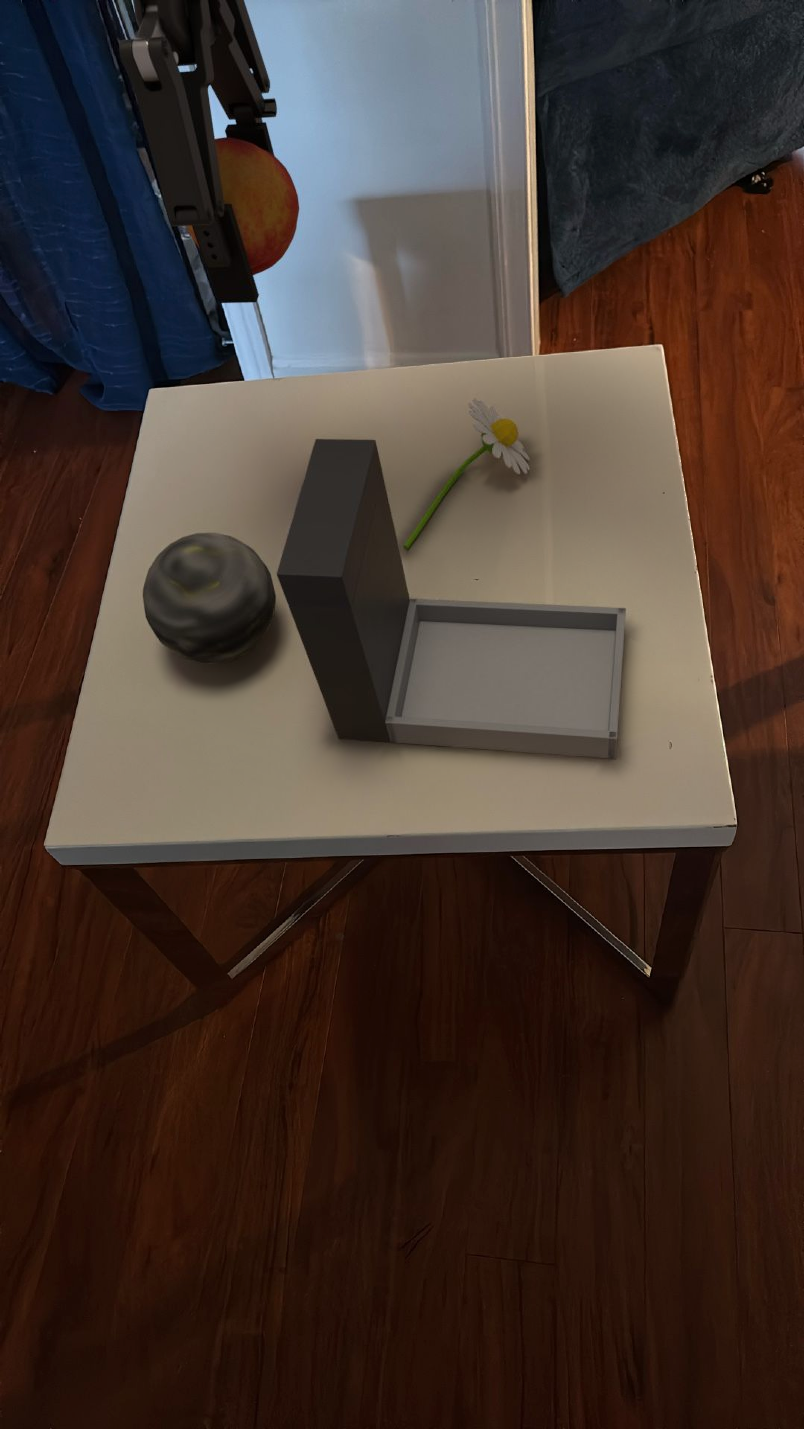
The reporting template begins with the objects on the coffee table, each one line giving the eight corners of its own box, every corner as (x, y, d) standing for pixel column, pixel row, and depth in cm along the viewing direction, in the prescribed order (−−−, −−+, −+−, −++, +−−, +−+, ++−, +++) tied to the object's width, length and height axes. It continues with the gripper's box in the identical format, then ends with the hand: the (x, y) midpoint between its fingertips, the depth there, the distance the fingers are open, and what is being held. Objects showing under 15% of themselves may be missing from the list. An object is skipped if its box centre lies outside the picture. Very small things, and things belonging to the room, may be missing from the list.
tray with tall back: (624, 630, 79) (637, 442, 63) (615, 759, 73) (627, 588, 57) (365, 617, 83) (315, 438, 67) (338, 738, 77) (276, 574, 61)
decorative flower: (413, 492, 79) (500, 367, 85) (371, 515, 84) (456, 396, 91) (481, 561, 82) (561, 435, 88) (436, 579, 87) (514, 459, 93)
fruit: (332, 232, 73) (306, 116, 66) (278, 305, 69) (244, 190, 62) (237, 219, 75) (202, 107, 69) (180, 288, 72) (138, 177, 65)
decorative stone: (267, 696, 80) (232, 617, 72) (150, 681, 82) (102, 603, 74) (303, 594, 85) (274, 509, 76) (191, 583, 87) (151, 499, 79)
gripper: (131, -213, 59) (241, 171, 78) (-5, -37, 49) (161, 360, 67) (256, -230, 58) (337, 166, 77) (143, -52, 47) (270, 359, 66)
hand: (254, 256), depth 72 cm, fingers closed on fruit, 8 cm apart
